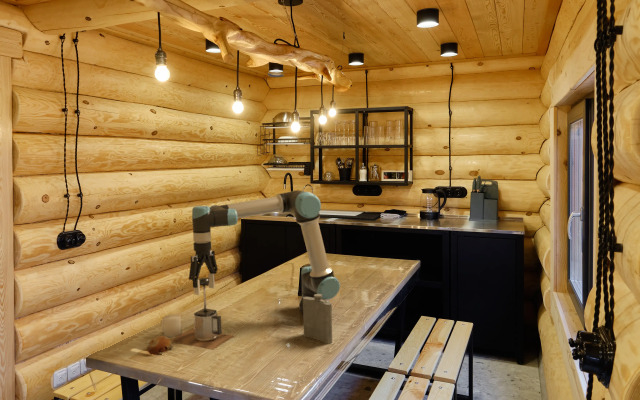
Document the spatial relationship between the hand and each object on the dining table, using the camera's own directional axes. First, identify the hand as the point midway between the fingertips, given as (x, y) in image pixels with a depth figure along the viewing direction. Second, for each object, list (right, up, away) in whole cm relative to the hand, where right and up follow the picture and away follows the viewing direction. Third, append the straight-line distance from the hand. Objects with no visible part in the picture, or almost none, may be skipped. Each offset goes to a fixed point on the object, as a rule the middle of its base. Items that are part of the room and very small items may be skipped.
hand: (204, 291), depth 218 cm
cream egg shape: (-16, -22, +7) cm, 28 cm away
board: (-1, -22, +1) cm, 22 cm away
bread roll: (-16, -24, -8) cm, 30 cm away
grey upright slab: (+50, -22, +2) cm, 55 cm away
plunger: (0, -12, +1) cm, 12 cm away
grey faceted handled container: (+2, -21, +2) cm, 21 cm away
